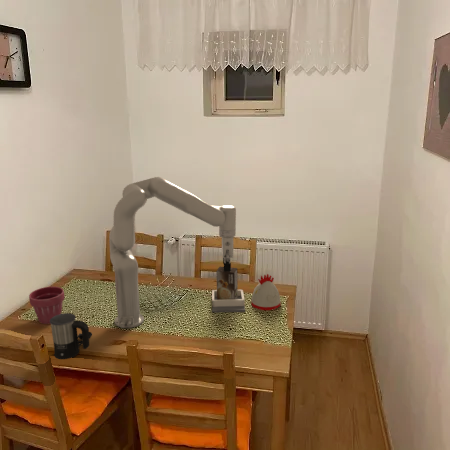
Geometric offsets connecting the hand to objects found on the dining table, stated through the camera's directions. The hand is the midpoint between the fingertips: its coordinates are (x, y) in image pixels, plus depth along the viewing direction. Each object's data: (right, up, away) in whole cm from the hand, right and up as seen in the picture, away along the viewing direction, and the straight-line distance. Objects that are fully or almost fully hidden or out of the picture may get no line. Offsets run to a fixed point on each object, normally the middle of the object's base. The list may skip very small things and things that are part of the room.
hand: (226, 267), depth 209 cm
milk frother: (-60, -29, -33) cm, 75 cm away
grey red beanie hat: (+19, -18, +4) cm, 26 cm away
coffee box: (0, -17, +5) cm, 17 cm away
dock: (+1, -17, +5) cm, 18 cm away
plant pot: (-79, -22, -10) cm, 83 cm away
